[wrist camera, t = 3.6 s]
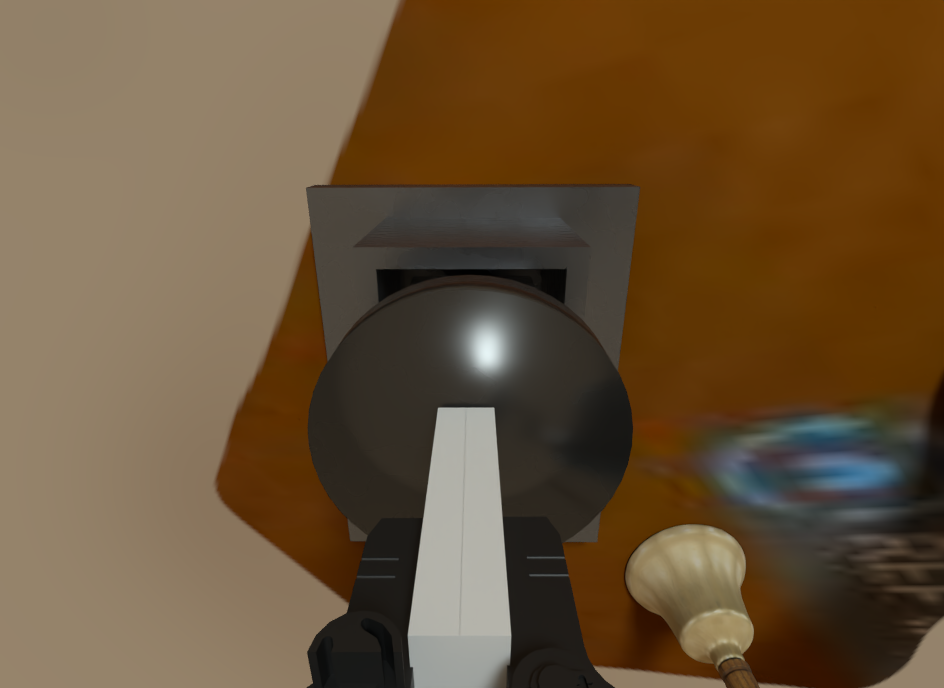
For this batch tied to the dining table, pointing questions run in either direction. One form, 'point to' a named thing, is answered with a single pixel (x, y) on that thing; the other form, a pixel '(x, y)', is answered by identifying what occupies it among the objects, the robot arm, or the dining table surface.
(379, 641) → the robot arm
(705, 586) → the hand bell
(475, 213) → the press stand
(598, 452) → the black ball joystick
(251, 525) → the dining table surface
